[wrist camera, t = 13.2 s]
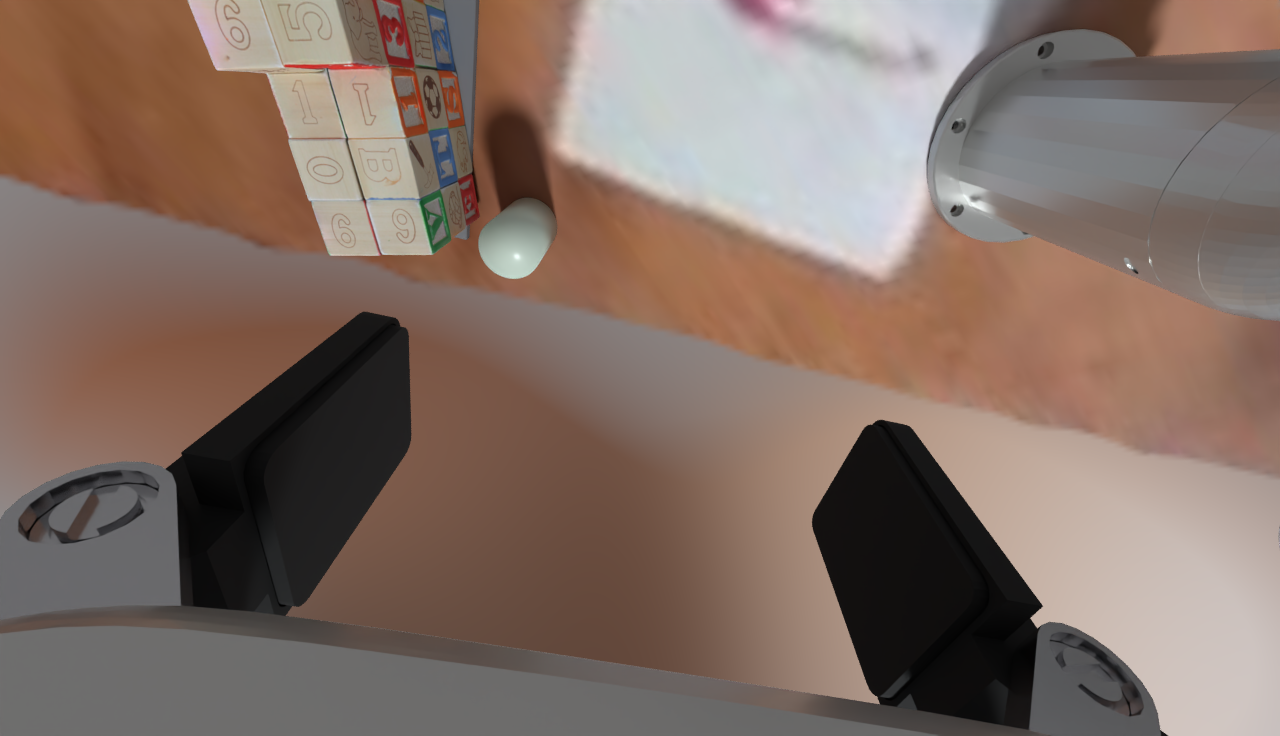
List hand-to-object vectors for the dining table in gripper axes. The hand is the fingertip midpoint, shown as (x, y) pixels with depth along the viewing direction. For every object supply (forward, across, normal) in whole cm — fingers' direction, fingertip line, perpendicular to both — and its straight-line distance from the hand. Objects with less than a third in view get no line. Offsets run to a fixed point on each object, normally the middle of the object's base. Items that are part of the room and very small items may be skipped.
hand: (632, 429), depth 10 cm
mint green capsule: (+28, +8, +5) cm, 30 cm away
